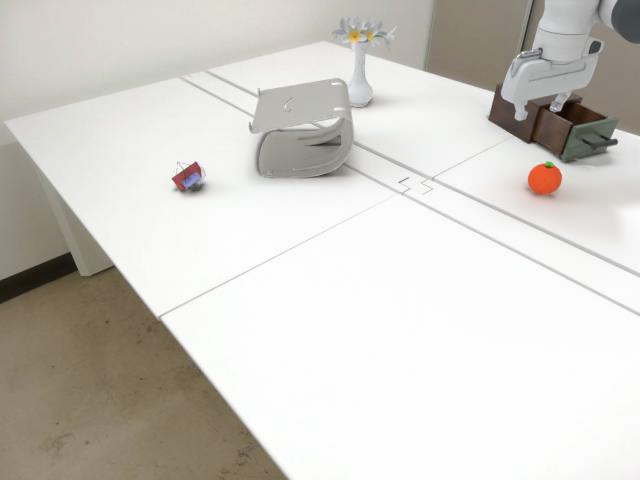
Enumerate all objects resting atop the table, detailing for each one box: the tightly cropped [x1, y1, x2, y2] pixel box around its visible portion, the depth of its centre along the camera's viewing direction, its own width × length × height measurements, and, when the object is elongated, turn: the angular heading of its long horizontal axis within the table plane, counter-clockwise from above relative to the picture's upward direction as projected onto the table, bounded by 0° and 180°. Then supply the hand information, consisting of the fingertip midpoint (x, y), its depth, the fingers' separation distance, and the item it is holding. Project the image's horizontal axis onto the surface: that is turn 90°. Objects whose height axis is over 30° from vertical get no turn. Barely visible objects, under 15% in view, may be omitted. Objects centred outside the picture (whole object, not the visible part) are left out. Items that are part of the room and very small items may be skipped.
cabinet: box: [487, 82, 584, 145], centre depth 127 cm, size 17×15×11 cm
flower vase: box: [331, 14, 398, 108], centre depth 137 cm, size 13×18×25 cm
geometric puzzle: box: [170, 160, 207, 192], centre depth 104 cm, size 7×7×8 cm
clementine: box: [527, 161, 563, 195], centre depth 102 cm, size 8×7×7 cm
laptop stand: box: [248, 77, 355, 179], centre depth 114 cm, size 26×24×16 cm
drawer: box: [532, 102, 620, 162], centre depth 116 cm, size 20×13×9 cm
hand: (537, 115), depth 94 cm, fingers open, 8 cm apart
